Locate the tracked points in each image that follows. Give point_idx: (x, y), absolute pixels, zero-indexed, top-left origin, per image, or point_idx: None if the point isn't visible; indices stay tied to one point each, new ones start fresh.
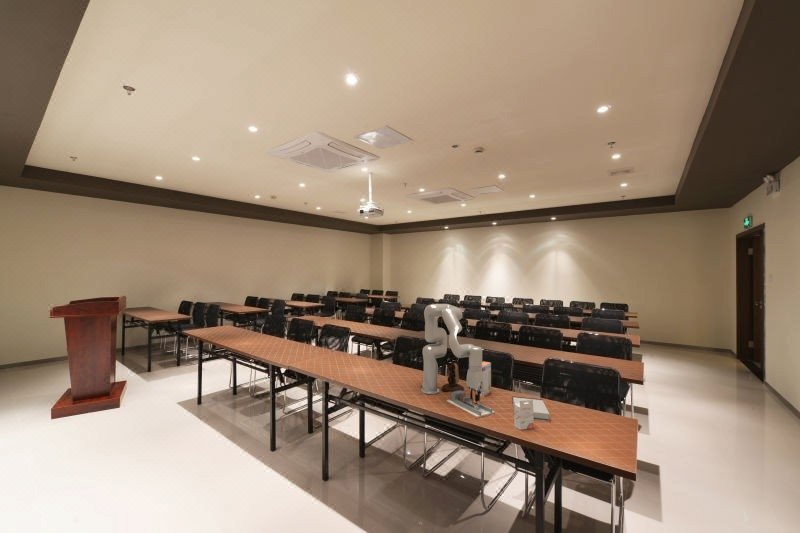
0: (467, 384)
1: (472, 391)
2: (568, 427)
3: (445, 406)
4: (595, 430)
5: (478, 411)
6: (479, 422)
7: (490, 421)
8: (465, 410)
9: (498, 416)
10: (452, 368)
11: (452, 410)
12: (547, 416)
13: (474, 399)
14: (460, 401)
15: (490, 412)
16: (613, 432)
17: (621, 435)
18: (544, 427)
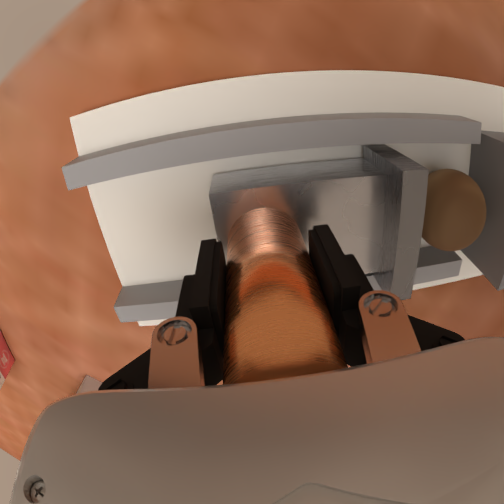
0: (502, 367)
1: (306, 321)
2: (24, 426)
3: (462, 26)
4: (22, 445)
5: (79, 162)
6: (28, 108)
7: (33, 207)
8: (252, 80)
9: (109, 311)
10: None
11: (365, 6)
12: None
13: (239, 248)
14: (428, 142)
15: (124, 288)
16: (21, 454)
17: (10, 451)
18: (5, 384)
